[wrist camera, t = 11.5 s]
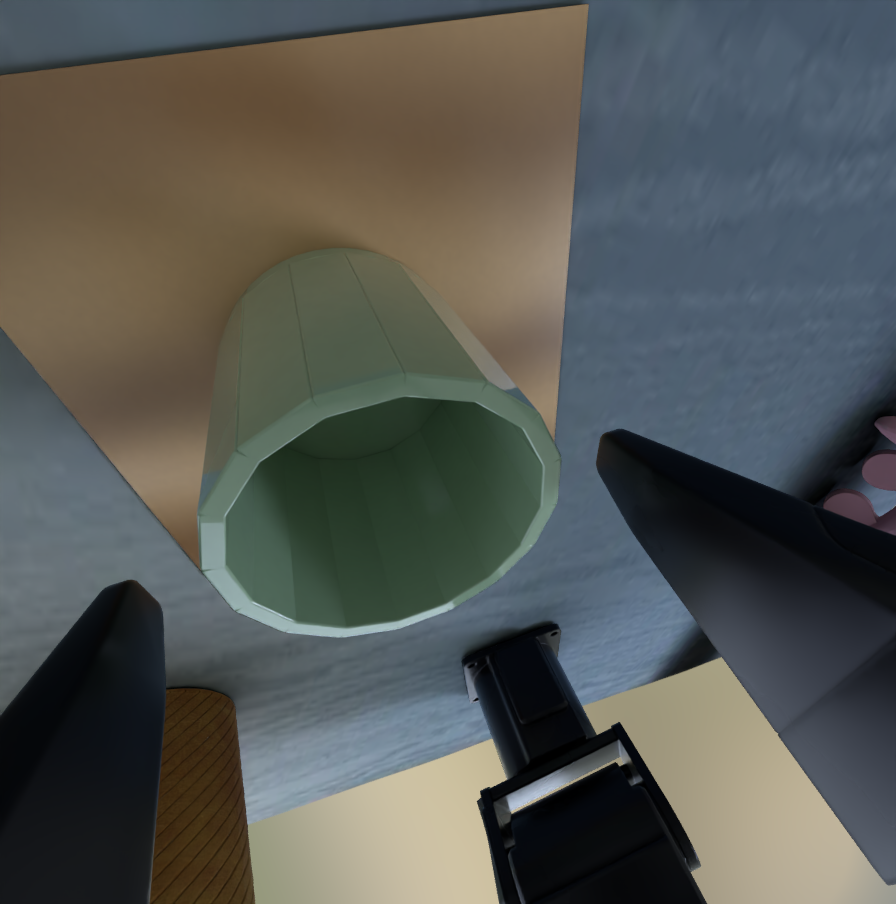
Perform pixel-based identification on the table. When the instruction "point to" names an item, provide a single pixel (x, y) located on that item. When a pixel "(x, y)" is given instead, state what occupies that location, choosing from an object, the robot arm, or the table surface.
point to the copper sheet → (280, 209)
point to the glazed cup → (363, 452)
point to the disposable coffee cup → (201, 805)
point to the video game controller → (879, 471)
